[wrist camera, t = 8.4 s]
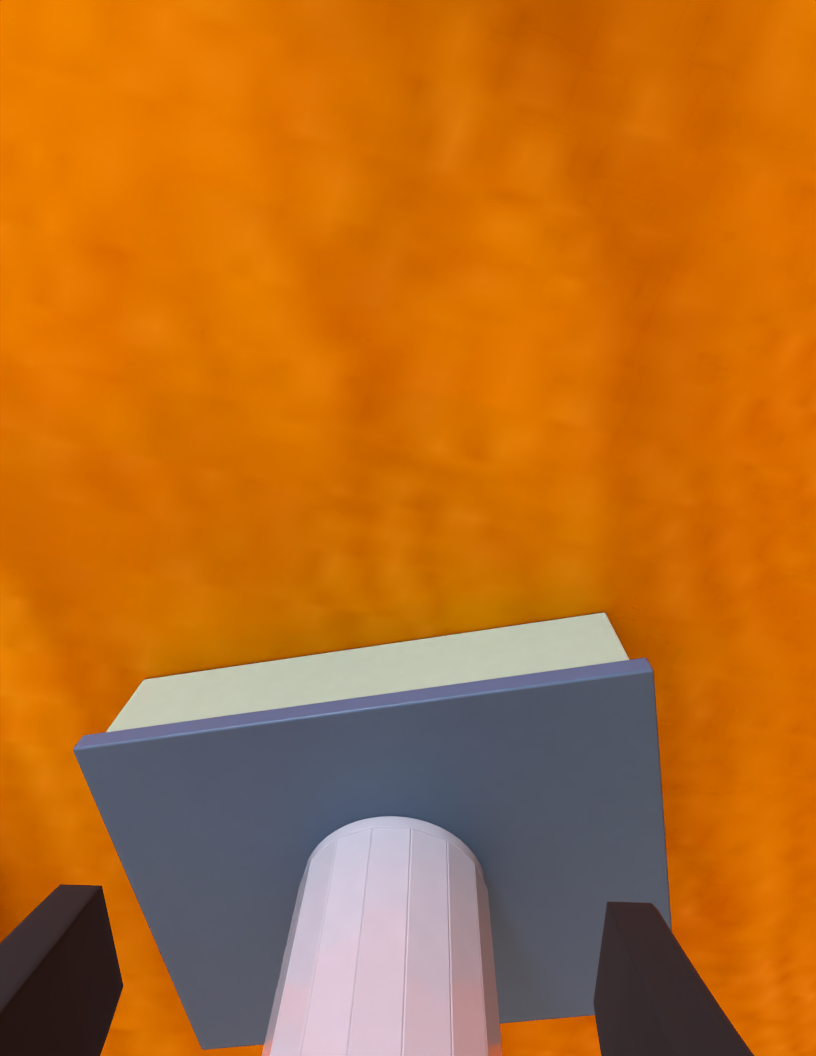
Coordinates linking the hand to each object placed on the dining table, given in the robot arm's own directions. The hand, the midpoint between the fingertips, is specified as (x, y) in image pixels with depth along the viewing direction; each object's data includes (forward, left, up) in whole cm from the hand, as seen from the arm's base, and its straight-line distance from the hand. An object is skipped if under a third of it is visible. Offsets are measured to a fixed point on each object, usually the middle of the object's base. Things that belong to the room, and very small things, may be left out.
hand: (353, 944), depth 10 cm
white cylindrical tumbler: (0, -7, -7) cm, 9 cm away
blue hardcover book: (0, -7, -10) cm, 12 cm away
